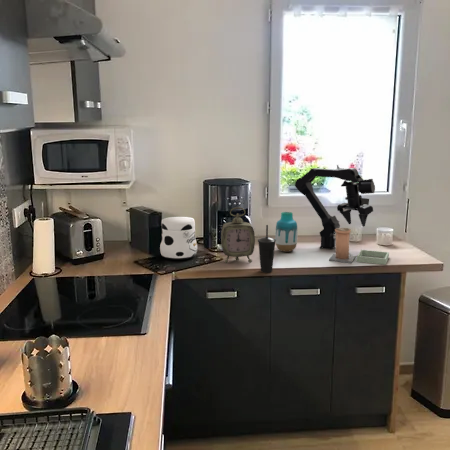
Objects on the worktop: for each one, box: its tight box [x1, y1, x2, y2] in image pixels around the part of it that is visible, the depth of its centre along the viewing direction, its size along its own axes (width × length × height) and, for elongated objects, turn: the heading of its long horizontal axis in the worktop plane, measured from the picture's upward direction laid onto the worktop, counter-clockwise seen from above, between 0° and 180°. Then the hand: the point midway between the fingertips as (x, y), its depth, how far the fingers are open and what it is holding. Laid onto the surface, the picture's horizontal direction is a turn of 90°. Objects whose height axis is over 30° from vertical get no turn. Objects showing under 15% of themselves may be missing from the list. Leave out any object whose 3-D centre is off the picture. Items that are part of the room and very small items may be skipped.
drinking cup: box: [257, 224, 276, 274], centre depth 213 cm, size 8×8×20 cm
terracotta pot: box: [335, 227, 352, 259], centre depth 232 cm, size 7×7×13 cm
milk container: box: [159, 216, 198, 261], centre depth 236 cm, size 17×17×18 cm
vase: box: [274, 211, 298, 253], centre depth 246 cm, size 11×11×19 cm
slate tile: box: [328, 253, 356, 264], centre depth 233 cm, size 10×10×1 cm
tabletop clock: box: [220, 206, 256, 264], centre depth 228 cm, size 14×9×25 cm, turn 95°
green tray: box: [356, 249, 390, 265], centre depth 232 cm, size 13×13×2 cm
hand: (356, 225), depth 247 cm, fingers open, 9 cm apart
